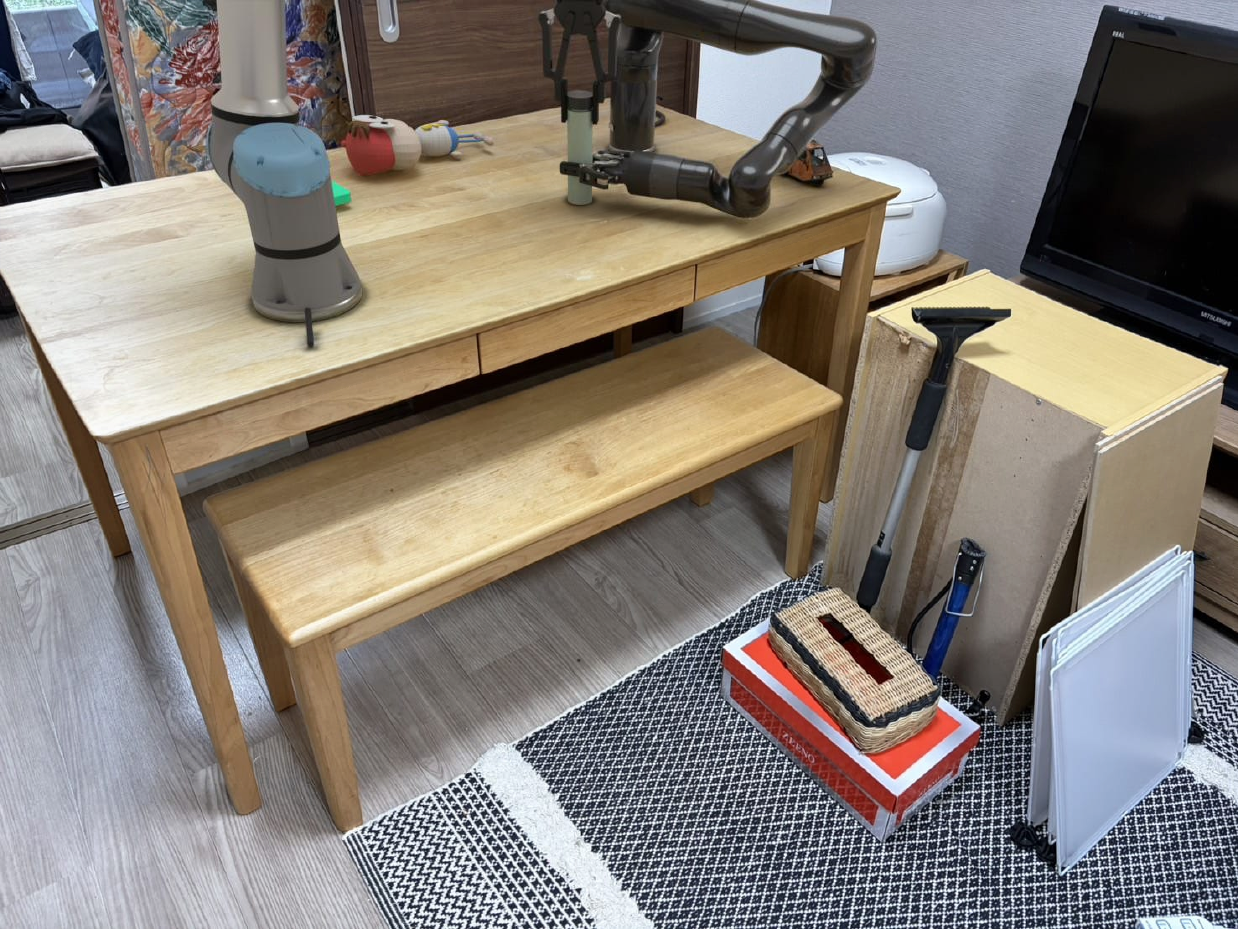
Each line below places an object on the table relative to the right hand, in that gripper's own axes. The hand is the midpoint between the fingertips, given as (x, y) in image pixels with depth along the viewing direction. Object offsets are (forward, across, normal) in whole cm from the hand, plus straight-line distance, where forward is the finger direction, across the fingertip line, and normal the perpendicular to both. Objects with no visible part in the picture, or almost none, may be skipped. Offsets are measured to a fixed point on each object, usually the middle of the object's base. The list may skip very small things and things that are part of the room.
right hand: (566, 162), depth 165 cm
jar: (-3, 0, -6) cm, 7 cm away
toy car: (-39, +27, -6) cm, 48 cm away
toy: (+34, +7, -6) cm, 35 cm away
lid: (-3, 0, +12) cm, 12 cm away
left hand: (-3, 0, +8) cm, 8 cm away
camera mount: (+40, -19, -6) cm, 45 cm away
